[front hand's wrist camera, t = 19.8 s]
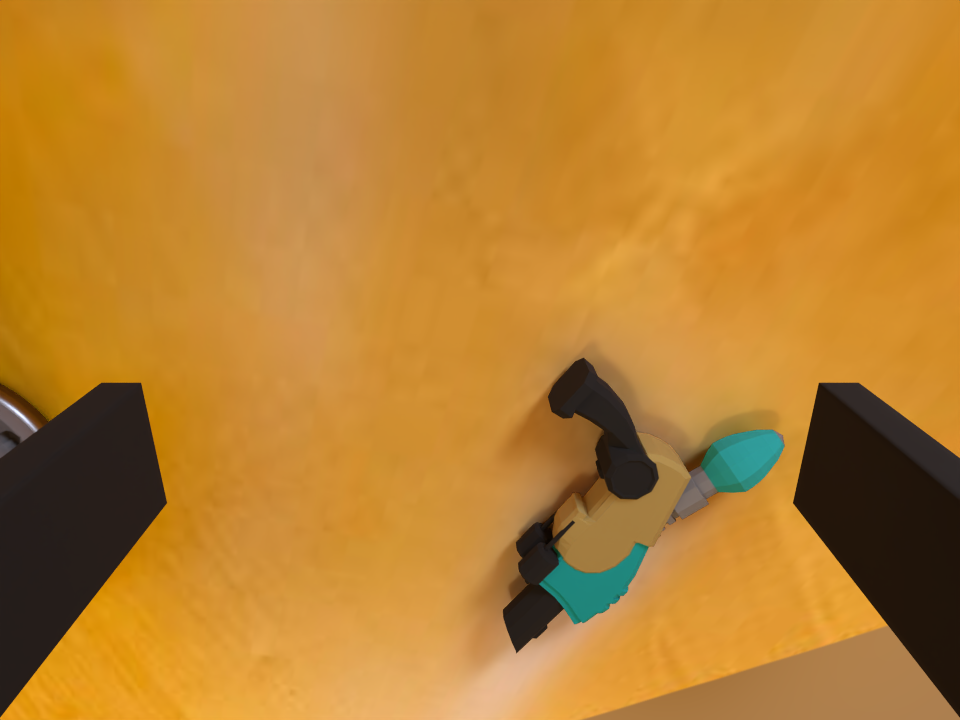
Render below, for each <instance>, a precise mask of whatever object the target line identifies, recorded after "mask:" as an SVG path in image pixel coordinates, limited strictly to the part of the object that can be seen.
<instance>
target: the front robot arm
mask: <svg viewBox="0 0 960 720" xmlns="http://www.w3.org/2000/svg"><path fill="white" fill-rule="evenodd" d="M166 504H167V501H166V496H165V492H164V487H163V483H162V478H161V473H160V469H159V464H158V459H157V455H156V450H155V445H154V441H153V436H152V432H151V427H150V422H149V418H148V413H147V408H146V404H145V399H144V395H143V390H142V385H141V383H101V384H99V385H98V386H97V387H95V388H94V389H92V390H91V391H90V392H88V393H87V394H86V395H84V396H83V397H82V398H80V399H79V400H78V401H76V402H75V403H74V404H72V405H71V406H70V407H68V408H67V409H66V410H64V411H63V412H62V413H60V414H59V415H58V416H56V417H55V418H54V419H52V420H51V421H50V422H48V421H47V420H46V419H45V417H44V416H43V415H42V414H41V413H40V412H39V411H38V410H37V409H36V408H35V407H33V406H32V405H31V404H30V403H29V402H28V401H26V400H25V399H24V398H22V397H21V396H19V395H18V394H17V393H15V392H13V391H12V390H10V389H9V388H7V387H5V386H3V385H1V384H0V717H1V716H2V714H3V713H4V712H5V711H6V709H7V708H8V707H9V705H10V704H11V703H12V702H13V700H14V699H15V698H16V696H17V695H18V694H19V693H20V691H21V690H22V689H23V687H24V686H25V685H26V684H27V682H28V681H29V680H30V678H31V677H32V676H33V675H34V673H35V672H36V671H37V669H38V668H39V667H40V666H41V664H42V663H43V662H44V660H45V659H46V658H47V657H48V655H49V654H50V653H51V651H52V650H53V649H54V648H55V646H56V645H57V644H58V642H59V641H60V640H61V639H62V637H63V636H64V635H65V633H66V632H67V631H68V630H69V628H70V627H71V626H72V624H73V623H74V622H75V621H76V619H77V618H78V617H79V615H80V614H81V613H82V612H83V610H84V609H85V608H86V606H87V605H88V604H89V603H90V601H91V600H92V599H93V597H94V596H95V595H96V594H97V592H98V591H99V590H100V588H101V587H102V586H103V585H104V583H105V582H106V581H107V579H108V578H109V577H110V576H111V574H112V573H113V572H114V570H115V569H116V568H117V567H118V565H119V564H120V563H121V561H122V560H123V559H124V558H125V556H126V555H127V554H128V552H129V551H130V550H131V549H132V547H133V546H134V545H135V543H136V542H137V541H138V540H139V538H140V537H141V536H142V534H143V533H144V532H145V531H146V529H147V528H148V527H149V525H150V524H151V523H152V522H153V520H154V519H155V518H156V516H157V515H158V514H159V513H160V511H161V510H162V509H163V507H164V506H165V505H166ZM793 504H794V505H795V506H796V507H797V509H798V510H799V511H800V513H801V514H802V515H803V516H804V518H805V519H806V520H807V522H808V523H809V524H810V525H811V527H812V528H813V529H814V531H815V532H816V533H817V534H818V536H819V537H820V538H821V540H822V541H823V542H824V543H825V545H826V546H827V547H828V549H829V550H830V551H831V552H832V554H833V555H834V556H835V558H836V559H837V560H838V561H839V563H840V564H841V565H842V567H843V568H844V569H845V570H846V572H847V573H848V574H849V576H850V577H851V578H852V579H853V581H854V582H855V583H856V585H857V586H858V587H859V588H860V590H861V591H862V592H863V594H864V595H865V596H866V597H867V599H868V600H869V601H870V603H871V604H872V605H873V606H874V608H875V609H876V610H877V612H878V613H879V614H880V615H881V617H882V618H883V619H884V621H885V622H886V623H887V624H888V626H889V627H890V628H891V630H892V631H893V632H894V633H895V635H896V636H897V637H898V638H899V640H900V641H901V642H902V644H903V645H904V646H905V648H906V649H907V650H908V651H909V653H910V654H911V655H912V657H913V658H914V659H915V660H916V662H917V663H918V664H919V666H920V667H921V668H922V669H923V671H924V672H925V673H926V675H927V676H928V677H929V678H930V680H931V681H932V682H933V684H934V685H935V686H936V687H937V689H938V690H939V691H940V692H941V694H942V695H943V696H944V698H945V699H946V700H947V702H948V703H949V704H950V705H951V707H952V708H953V709H954V711H955V712H956V713H957V714H958V716H959V717H960V458H959V457H957V456H956V455H955V454H953V453H952V452H951V451H949V450H948V449H947V448H945V447H944V446H943V445H941V444H940V443H939V442H937V441H936V440H935V439H933V438H932V437H931V436H929V435H928V434H927V433H925V432H924V431H923V430H921V429H920V428H918V427H917V426H916V425H914V424H913V423H912V422H910V421H909V420H908V419H906V418H905V417H904V416H902V415H901V414H900V413H898V412H897V411H896V410H894V409H893V408H892V407H890V406H889V405H888V404H886V403H885V402H884V401H882V400H881V399H880V398H878V397H877V396H876V395H874V394H873V393H872V392H870V391H869V390H868V389H866V388H865V387H863V386H862V385H861V384H859V383H819V385H818V390H817V395H816V399H815V404H814V408H813V413H812V418H811V422H810V427H809V432H808V436H807V441H806V445H805V450H804V455H803V459H802V464H801V469H800V473H799V478H798V483H797V487H796V492H795V496H794V501H793Z"/></svg>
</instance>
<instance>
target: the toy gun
mask: <svg viewBox="0 0 960 720" xmlns="http://www.w3.org/2000/svg"><path fill="white" fill-rule="evenodd" d="M548 399H549V403H550V407H551V410H552V412H553V413H555V414H556V415H558V416H560V417H562V418H572V417H573V414H574V413H576V414H578V415H580V416H582V417H584V418H586V419H588V420H590V421H591V422H593V423H594V424H596V425H597V426H599V427H600V428H602V429H603V430H604V435H603V436H601V438H600V440H599V442H598V444H597V446H596V448H595V451H596V455H597V459H598V460H597V461H596V465H597V469H598V472H599V475H600V477H599V479H598V480H597V481H596V482H595V484H594V485H593V486H592V487H591V488H590V490H589V491H588V492H587V493H586V495H585V496H583V497H581V496H580V493H575V492H573V494H572V495H571V496H570V497H569V498H568V499H567V500H566V502H565V503H564V504H563V505H562V506H561V507H560V508H559V509H558V510H557V511H556V512H555V513H554V514H553V515H552V516H551V517H550V518H549V519H548V520H547V521H546V522H545V523H544V524H541V523H538V522H537V523H535V524H534V525H533V526H532V527H531V528H530V529H529V530H528V531H527V532H526V533H525V534H524V535H523V536H522V537H521V538H520V539H519V540H518V541H517V542H516V547H517V551H518V553H519V554H520V556H521V557H522V558H523V559H522V560H521V561H520V562H519V563H518V567H519V572H520V574H521V575H522V577H523V578H524V579H525V582H526V583H527V584H529V583H530V584H529V585H528V586H527V587H526V588H525V589H524V590H523V591H522V592H521V593H520V594H519V595H518V596H517V597H516V598H515V599H514V600H513V601H511V602H510V603H509V604H508V605H507V606H506V607H505V608H504V609H503V618H504V621H505V624H506V627H507V631H508V633H509V636H510V638H511V641H512V643H513V646H514V648H515V650H516V653H517V652H518V651H519V650H521V649H522V648H523V647H524V646H525V645H526V644H527V643H528V642H529V641H530V640H531V639H532V638H537V637H539V636H540V635H541V634H542V633H543V632H544V631H545V630H546V629H547V624H548V623H549V622H550V621H551V620H552V619H553V618H554V617H556V616H557V615H558V614H559V613H560V612H561V611H562V610H563V609H565V611H566V612H567V614H568V615H569V617H570V618H571V620H572V621H573V623H574V624H577V623H579V622H582V623H585V622H586V621H588V620H589V619H590V618H592V617H593V616H595V615H596V614H597V613H603V612H605V611H606V610H608V609H609V607H610V604H615V603H616V602H617V601H618V600H619V599H620V596H624V595H625V594H626V593H627V591H628V585H629V584H630V582H631V581H632V580H633V578H634V577H635V575H636V573H637V571H638V569H639V567H640V564H641V562H642V560H643V558H644V556H645V554H646V552H647V550H648V547H653V546H654V545H655V543H656V541H657V539H658V538H659V537H660V534H661V532H662V531H663V530H665V527H664V526H665V524H666V523H668V524H669V525H671V524H672V523H674V522H676V519H675V518H677V517H679V516H680V517H681V518H682V519H684V518H686V517H687V516H689V515H691V514H693V513H694V512H696V511H698V510H700V509H701V508H703V507H705V506H706V505H708V504H709V503H708V502H707V500H706V499H707V498H709V497H710V496H712V495H714V494H716V493H717V492H732V493H734V492H746V491H748V490H749V489H751V488H752V487H754V486H755V485H756V484H758V483H759V482H760V481H761V480H762V479H763V478H764V477H765V476H766V475H767V473H768V472H769V471H770V469H771V468H772V467H773V466H774V464H775V463H776V462H777V460H778V459H779V457H780V455H781V453H782V450H783V448H784V446H785V445H784V440H783V435H781V434H779V433H778V432H776V431H774V430H753V431H748V432H743V433H737V434H733V435H730V436H727V437H725V438H722V439H720V440H718V441H716V442H714V443H713V444H712V445H711V446H710V448H709V450H708V451H707V453H706V455H705V457H704V459H703V461H702V463H701V465H700V466H699V467H697V468H696V469H694V470H692V471H690V472H688V471H687V469H686V467H685V466H684V464H683V462H682V460H681V459H680V457H679V455H678V454H677V453H676V452H675V450H674V449H673V448H672V447H671V446H670V445H669V444H667V443H666V442H664V441H663V440H661V439H659V438H657V437H655V436H653V435H651V434H646V433H639V432H636V430H635V426H634V424H633V422H632V420H631V417H630V415H629V413H628V411H627V409H626V407H625V405H624V403H623V402H622V400H621V399H620V398H619V397H618V396H617V395H616V393H615V392H614V391H613V390H612V389H611V387H610V386H609V385H608V384H607V383H606V382H604V381H603V380H602V379H600V378H599V377H598V376H597V374H596V372H595V369H594V367H593V366H592V365H591V364H590V363H589V362H588V361H587V360H586V359H584V358H582V359H580V360H578V361H575V362H574V364H573V365H572V366H571V367H570V368H569V369H568V370H567V371H566V372H565V373H564V375H563V376H562V377H561V378H560V379H559V380H558V381H557V382H556V383H555V384H554V385H553V387H552V389H551V392H550V394H549V396H548ZM553 521H554V525H553V531H551V530H550V529H549V528H548V526H549V525H550V524H551V523H552V522H553Z"/></svg>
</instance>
